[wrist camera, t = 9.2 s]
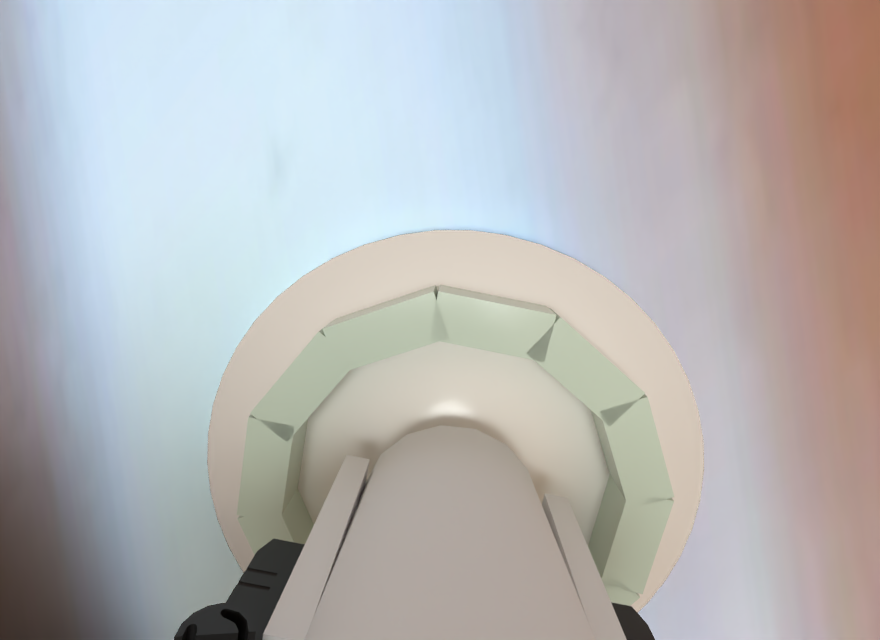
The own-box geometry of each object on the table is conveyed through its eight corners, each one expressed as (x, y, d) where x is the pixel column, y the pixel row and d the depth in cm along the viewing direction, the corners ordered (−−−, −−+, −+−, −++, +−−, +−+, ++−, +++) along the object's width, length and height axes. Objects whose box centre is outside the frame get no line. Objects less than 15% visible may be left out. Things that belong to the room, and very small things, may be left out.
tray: (204, 611, 20) (163, 675, 17) (249, 183, 16) (206, 174, 13) (614, 690, 20) (640, 766, 17) (753, 285, 16) (814, 297, 13)
